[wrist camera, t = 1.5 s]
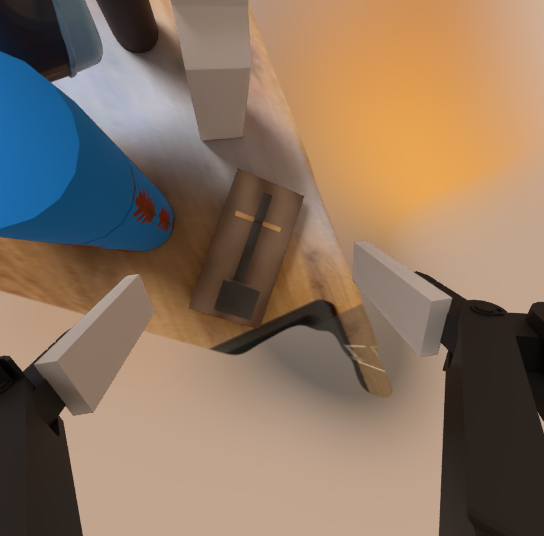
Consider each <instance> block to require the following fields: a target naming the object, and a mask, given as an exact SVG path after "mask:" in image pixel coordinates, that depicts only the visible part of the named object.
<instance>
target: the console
mask: <svg viewBox="0 0 544 536" xmlns="http://www.w3.org/2000/svg"><path fill="white" fill-rule="evenodd" d="M303 198H304V196H302V195H300V194H298V193H295V192H293V191H290V190H288V189H286V188H283V187H281V186H279V185H276V184H274V183H271V182H269V181H267V180H264V179H262V178H259V177H257V176H255V175H252V174H250V173H248V172H245V171H243V170H240V169H237V172H236V175H235V178H234V181H233V183H232V186H231V189H230V192H229V195H228V198H227V200H226V203H225V206H224V209H223V212H222V215H221V217H220V220H219V223H218V226H217V229H216V232H215V234H214V237H213V240H212V243H211V246H210V249H209V252H208V254H207V257H206V260H205V263H204V266H203V269H202V271H201V274H200V277H199V280H198V283H197V286H196V288H195V291H194V294H193V297H192V300H191V303H190V305H189V309H193V310H196V311H200V312H203V313H206V314H210V315H213V316H217V317H220V318H223V319H227V320H230V321H234V322H237V323H240V324H244V325H247V326H251V327H254V328H257V329H259V328H260V325H261V322H262V319H263V316H264V313H265V310H266V307H267V304H268V301H269V298H270V296H271V293H272V290H273V287H274V284H275V281H276V278H277V275H278V272H279V269H280V266H281V263H282V260H283V257H284V254H285V251H286V248H287V245H288V242H289V239H290V236H291V234H292V231H293V228H294V225H295V222H296V219H297V216H298V213H299V210H300V207H301V204H302V201H303ZM226 278H228V279H231V280H234V281H238V282H241V283H244V284H247V285H250V286H251V288H252V289H255V290H258V291H260V294H259V297H258V300H257V303H256V306H255V309H254V312H253V315H252V318H251V321H250V320H247V319H244V318H240V317H237V316H234V315H230V314H227V313H224V312H220V311H217V310H214V306H215V303H216V300H217V297H218V294H219V291H220V289H221V286H222V283H223V280H225V279H226Z"/></svg>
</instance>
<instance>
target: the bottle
mask: <svg viewBox="0 0 544 536" xmlns="http://www.w3.org/2000/svg"><path fill="white" fill-rule="evenodd" d="M96 1H97V3H98V5H99V7H100V9H101V11H102V13H103V15H104V17H105V19H106V21H107V23H108V25H109V27H110V29H111V31H112V33H113V35H114V36H115V38H116V39H117V41H118V42H119V43H120V44H121V45H122V46H123V47H125V48H127V49H129V50H130V51H135V52H145V51H147V50H150V49H151V48H152V47H153V46H154V45H155V44H156V42H157V39H158V29H157V25H156V22H155V19H154V15H153V12H152V9H151V5H150V2H149V0H96Z"/></svg>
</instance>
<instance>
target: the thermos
mask: <svg viewBox="0 0 544 536" xmlns="http://www.w3.org/2000/svg"><path fill="white" fill-rule="evenodd" d="M174 220H175V219H174V215H173V210H172V208H171V206H170V205H169V203H168V201H167V200H166V198H165V197H164V196H163V194H162V193H161V192H160V190H159V189H158V188H157V187H156V186H155V185H154V184H153V183H152V182H151V181H150V180H149V179H148V178H147V177H146V176H145V175H144V174H143V173H142V172H141V171H140V170H139V168H138V167H137V166H136V165H135V164H134V163H133V162H132V161H131V160H130V159H129V158H128V157H127V156H126V155H125V154H124V153H123V152H122V151H121V150H120V149H119V148H118V147H117V145H116V144H115V143H114V142H113V141H112V140H111V139H110V138H109V137H108V136H107V135H106V134H105V133H104V132H103V131H102V130H101V129H100V128H99V127H98V126H97V125H96V123H95V122H94V121H93V120H92V119H91V118H90V117H89V116H88V115H87V114H86V113H85V112H84V111H83V110H82V109H81V108H80V107H79V106H78V105H77V104H76V103H75V102H74V101H73V100H72V99H70V98H69V97H68V96H67V95H65V94H64V93H63V92H62V91H61V90H59V89H58V88H57V87H56V86H54V85H53V84H52V83H51V82H49V81H48V80H47V79H46V78H44V77H43V76H42V75H41V74H39V73H38V72H37V71H36V70H35V69H33V68H32V67H31V66H30V65H28V64H27V63H26V62H24V61H22V60H20V59H17V58H15V57H12V56H10V55H8V54H5V53H3V52H1V51H0V237H4V238H13V239H22V240H30V241H39V242H48V243H57V244H66V245H75V246H84V247H92V248H101V249H110V250H119V251H149V250H152V249H154V248H157V247H159V246H161V245H162V244H163V243H164V242H165V241H167V240H168V238H169V236H170V235H171V233H172V231H173V227H174Z"/></svg>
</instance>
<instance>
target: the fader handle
mask: <svg viewBox="0 0 544 536" xmlns="http://www.w3.org/2000/svg"><path fill="white" fill-rule="evenodd" d="M259 294H260V291H258V290H255V289H252V288H251V286H250V285H247V284H244V283H241V282H238V281H234V280H231V279H228V278H226V279H225V280H223V283H222V286H221V289H220V291H219V294H218V297H217V300H216V303H215V306H214V310H217V311H220V312H224V313H227V314H230V315H234V316H237V317H240V318H244V319H247V320H250V321H251V318H252V315H253V312H254V309H255V306H256V303H257V300H258V297H259Z"/></svg>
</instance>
